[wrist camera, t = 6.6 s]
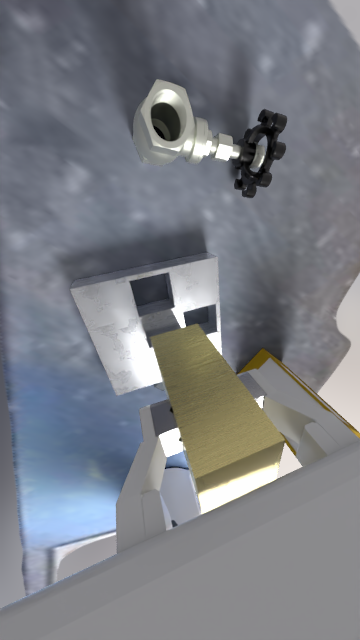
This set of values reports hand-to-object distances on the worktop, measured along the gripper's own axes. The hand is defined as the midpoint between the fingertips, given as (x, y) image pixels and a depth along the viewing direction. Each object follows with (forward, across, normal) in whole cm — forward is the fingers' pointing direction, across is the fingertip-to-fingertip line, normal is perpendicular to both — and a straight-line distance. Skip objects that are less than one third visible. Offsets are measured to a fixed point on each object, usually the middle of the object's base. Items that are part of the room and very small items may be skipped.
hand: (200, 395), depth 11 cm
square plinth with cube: (+18, 0, +6) cm, 19 cm away
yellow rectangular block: (+4, 0, 0) cm, 4 cm away
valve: (+18, -7, -12) cm, 23 cm away
